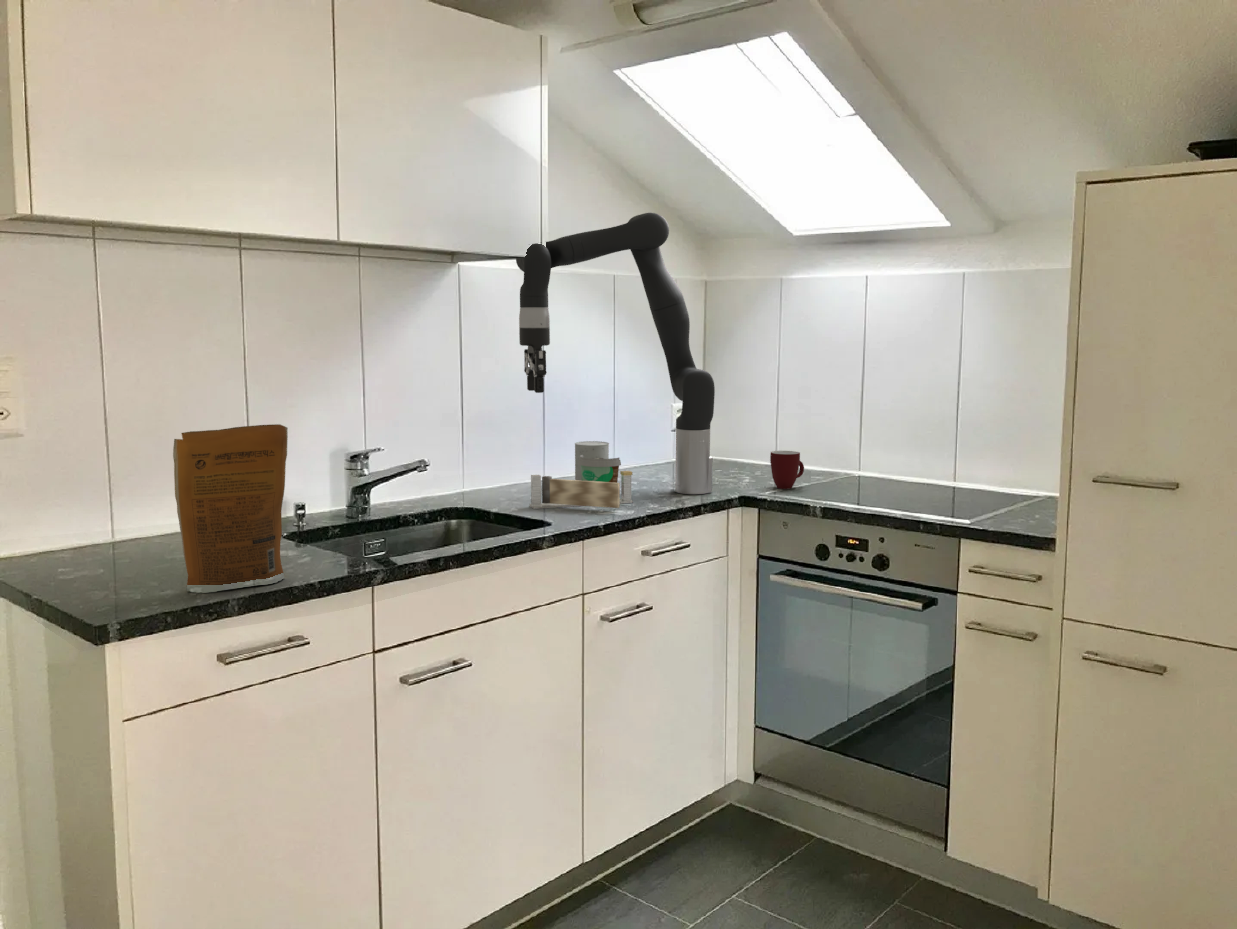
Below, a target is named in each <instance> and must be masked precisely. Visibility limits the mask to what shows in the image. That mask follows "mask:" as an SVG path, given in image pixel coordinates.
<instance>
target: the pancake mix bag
mask: <svg viewBox="0 0 1237 929" xmlns="http://www.w3.org/2000/svg"><path fill="white" fill-rule="evenodd" d="M180 433H181V434H180V435H181V438H182V439H181V438H174V440H173V449H172V450H173V452H172V459H173V466H174V467H173V473H174V474H173V476H174V477H173V478H174V497H175V501H176V512H177V513H176V514H177V518H178V522H179V530H180V535H181V543H182V552H183V558H184V562H185V568H186V572H187V581H186V586H187V585H223V584H231V583H237V582H245V581H250V580H256V579H266V578H270V577H273V576H275V575H278V574H281V573H284V569H283V565H282V559H281V543H282V541H281V540H282V537H283V536H282V535H283V532H282V531H283V530H282V528H283V525H282V523H283V522H282V508H283V503H284V502H283V501H284V497H285V487H286V465H287V464H286V463H287V458H288V427H287V426H286V425H282V424H280V423H278V424H277V423H276V424H275V423H274V424H257V425H244V426H235V427H229V428H223V429H208V430H197V431H196V430H194V431H185V432H180ZM284 574H285V573H284Z"/></svg>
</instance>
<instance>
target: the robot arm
mask: <svg viewBox="0 0 1237 929" xmlns="http://www.w3.org/2000/svg"><path fill="white" fill-rule="evenodd" d="M669 235H670V226H669V223H668V221H667V219H666V218H665V217H664V216H662V215H661V214H659V213H656V212H645V213H641V214H637V215H635V216H632V217H631V218H630V219H629V220H628V221H627V222H626V223H622V224H619V225H616V226H611V227H607V228H606V227H605V228H601V229H596V230H589V231H583V232H579V233H574V234H573V233H572V234H570V235H565V236H561V237H558V238H556V239H554V240H549V241H545V242H546V247H545V246H544V245H542V244H538V243H539V242H538V243H531V244H532V245H531V246H530V247H529V248H528V249H527V252H526V254H527V255H526V256H525V258H516V257H515V261H516V262H515V263H516V265H517V267H518V268H519V270H520V271H521V272H523V282H522V285H521V286H520V289H519V313H518V314H519V317H518V325H519V326H518V327H519V328H518V329H519V330H518V331H519V333H518V334H519V345H520V346H521V347H524V346H525V347H527V348H525V349H524V350H523V351H524V352H523V353H524V354H523V355H524V358H523V359H524V368H523V372H524V373H525V375H526V378H527V379H526V386H527V387H526V389H527V391H532V392H533V391H534V393H536V394H543V393H544V391H545V385H544V384H545V381H544V380H545V377H546V376H547V355H546V354H547V352H546V350H544V349H543V347H544V346H549V345H550V344H551V337H550V336H551V335H550V334H551V333H550V331H551V329H550V324H551V323H550V322H551V320H550V312H549V285H550V279H551V270H552V269H553V268H556V267H564V266H570V265H575V264H579V263H583V262H584V263H585V262H587V261H590V260H594V259H597V258H600V257H603V256H607V255H610V254H614V253H618V252H621V251H628V250H630V252H631V255H632V257H633V259H634V261H635V264H636V266H637V270H638V272H639V275H640V278H641V283H642V285H643V289H644V291H645V295H646V300H647V302H648V305H649V306H648V307H649V309H650V313H651V317H652V319H653V323H654V325H655V328H656V331H657V334H658V337H659V340H660V345H661V347H662V349H663V353H664V356H665V360H666V365H667V370H668V375H669V379H670V385H671V389H672V392H673V393H674V396H675V397H676V399H678V400H679V401H681V402H682V406H681V413H680V415H678V416H677V418H676V420H675V421H676V422H675V472H674V473H675V479H674V480H675V484H674V485H675V486H674V487H675V488H674V491H675V493H678V494H684V495H703V494H704V495H705V494H709V493H713V478H714V477H713V476H714V475H713V473H714V472H713V470H714V469H713V463H714V460H713V459H714V458H713V457H712V456H711V451H710V450H711V423H712V421H713V417H714V414H715V413H714V411H715V410H714V408H715V395H716V394H715V392H716V390H715V382H714V378H713V376H712V375H711V373H709V372H708V371H707V370H704V369H702V368H701V369H700V368H697V367H696V364H695V362H694V358H693V356H692V353H691V348H690V326H691V325H690V316H689V311H688V309H687V308H688V307H687V304H686V301H685V298H684V295H683V293H682V291H681V289H680V287H679V285H678V284H677V282H676V280H675V279H674V277H673V276H672V274H671V273H670V272H669V270H668V268H667V266H666V264H665V262H664V259H663V255H662V251H661V248H660V247H661V246H662V245H664V244H665V242H666V241H667V240H668V238H669Z"/></svg>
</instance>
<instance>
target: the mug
mask: <svg viewBox="0 0 1237 929" xmlns="http://www.w3.org/2000/svg"><path fill="white" fill-rule="evenodd" d="M769 454H770V457H769V458H770V459H769V462H770V470H771V476H772V480H773V483H774V485H775V487H776V488H777V489H778V490H790V489H792V488H793V486H794V485H795V483H796V481H797V479H798V478H801V477H802V476H803V474H804V472H805V465H804V463H803V461H801V452H799V451H795V450H772V451H770V453H769Z"/></svg>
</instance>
